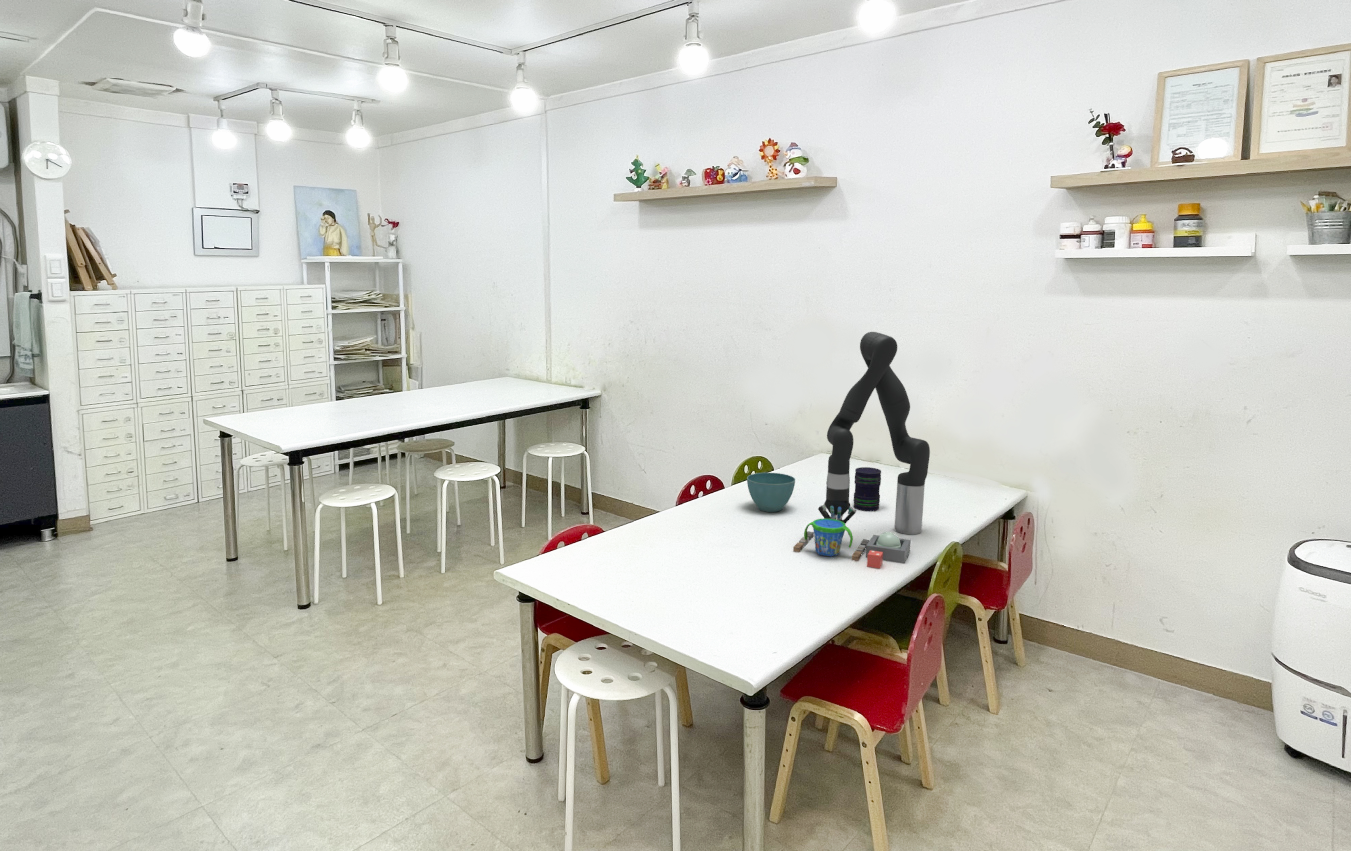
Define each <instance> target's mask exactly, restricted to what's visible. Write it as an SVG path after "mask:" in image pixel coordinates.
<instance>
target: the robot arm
mask: <svg viewBox="0 0 1351 851" xmlns="http://www.w3.org/2000/svg"><path fill="white" fill-rule="evenodd" d="M859 350H860V354H861V356H862V359H863V361H864V363H865V365H866V367H867V369H866V372H864V374H863V376H861V378H860V379H858V381H857V382H855V384H854V385H853V386H852V387H851V388H850V389H849V391H848V392H847V393H846V396H845V398H844V400H843V402H842V405H841V407H840V410H839V412H838V413H837V414H836V415H835V417H834V419H833V420H832V422H831V423H830V425H829V427H828V429H827V433H826V439H827V441H828V442H829V444H831V445H832V450H831V454H830V456H828V461H827V462H828V463H827V475H826V489H825V490H826V491H825V492H826V493H825V501H824V503H823V504H822V505H820V506H819V507H818V508H817V510H818V511H819V513H820V515H822V517H823V519H835V520H839V521H842V522H844V523H845V525H846V524H847V523H848V522H849V521H850V519H851V518H852V517H853V516H854V515H855V514H856V513H857V509H855V508H854V509H853V508H852V507H851V503H850V489H851V488H850V486H851V485H850V484H851V477H850V465H851V464H850V462H851V461H850V460H851V457H852V452H853V449H854V435H853V432H851V428H852V427H853V425H854V424H856V423H857V422H859V421H860V419H861V417H862V415H863V413H864V411H865V408H866V406H867V403H868V401H869V400H870V398H871V396H872V394H873V392H874V390H875V391H876V393H877V394H876V395H877V396H878V401H879V404H880V406H881V410H882V413H883V415H884V418H885V421H886V424H887V429H888V431H889V432H888V433H889V435H890V441H891V446H892V451H893V454H894V456H895V459H897V460H898V461H899V462H901V463H904V464H907V465H909V470H908V471H905V472H900V473H899V474H898V475H897V478H896V480H897V481H896V482H897V483H896V496H895V497H896V500H895V512H894V513H895V514H894V531H896V532H897V533H900V534H905V535H918V534H921V533H922V530H923V528H922V526H923V515H924V499H925V484H926V479H927V476H928V472H929V463H930V456H931V455H930V454H931V450H930V445H929V443H928V441H927V440H924V439H921V438H915V437H911V436H910V435H909V433H908V429H907V425H906V422H907V419H908V417H909V415H910V410H911V403H910V402H911V401H910V399H909V397H908V393H907V390H906V388H905V386H904V384H903V383H902V381H901V380H900V378H899V377H898V376H897V374H896V373H895V372H894V371H893V369H892V368H891V367H892V366H891V364H892V362H893V360H894V359H895V356H896V355H897V353H898V343H897V341H896V339H895V338H894V337H892V336H889V335H887V334H884V333H881V332H877V331H869V332H867V333H865V334H864V335H863V336H862V337H861V339H860V342H859ZM846 512H847V514H848V515H847V516H846V517H845V518H844V519H843V516H844V515H845V514H846Z"/></svg>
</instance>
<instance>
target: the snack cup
mask: <svg viewBox="0 0 1351 851" xmlns="http://www.w3.org/2000/svg"><path fill="white" fill-rule="evenodd" d="M810 526H811V527H812V529H813V532H814V536H813V539H814V549H815V552H816V553H817V554H818V555H820V556H825V557H826V556H828V557H829V558H831V557H835V556H838V555H840V551H841V546H842V542H843V537H844V536H845V535H844V534H845V531H846V532H847V534H848V536H849V538H850V540H849V546H848V548H851V546H852V545H853V542H854V536H853V532H852V531H851V529H850V528H849V527H847V525H846V524H845V523H844V522H842V521H839V520H835V519H824V518H818V519H814V520H813V521H811V522H809V523H808V524H807V525H806V527H805V528H804V533H803V537H804V538H805V540H807V539H808V533H807V532H808V529H809V527H810Z"/></svg>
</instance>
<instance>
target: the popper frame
mask: <svg viewBox="0 0 1351 851" xmlns="http://www.w3.org/2000/svg"><path fill="white" fill-rule="evenodd" d="M880 535H881V534H880ZM880 535H879V534H873V535H872V537H871V538H870V539H869V542H868V544H867V545H866V549H865V558H866V559H867V556H868V553H869V551H870V550H872V551H879V552H883V561H887V562H893V563H894V562H895V563H901V564H905V562H906V560H907V559H908V556H909V554H910V552H911V542H912V540H911V539H907V538H902V537H901V538H900V537H898V538H899V540H900V543H901V548H900V549H899V548H892V547H885V546H878V545H876V544H877V541H878V538H879V536H880Z"/></svg>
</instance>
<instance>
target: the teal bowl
mask: <svg viewBox="0 0 1351 851" xmlns="http://www.w3.org/2000/svg"><path fill="white" fill-rule="evenodd" d="M746 484H747V488H748V492H749V495H750V498H751V500H752V501H753V503H754V504H755V506H756V508H757V509H758V510H760V511H761V512H766V513H776V512H780V511H781V510H783V509H784V507H785V506H786V505H788V502H789V501H790V499H791V497H792V495H793V493H794V489H795V485H796V478H795V477H794V476H793V475H788V474H785V473H780V472H779V473H778V472H756V473H752V474H750V475H748V476H747V477H746Z"/></svg>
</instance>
